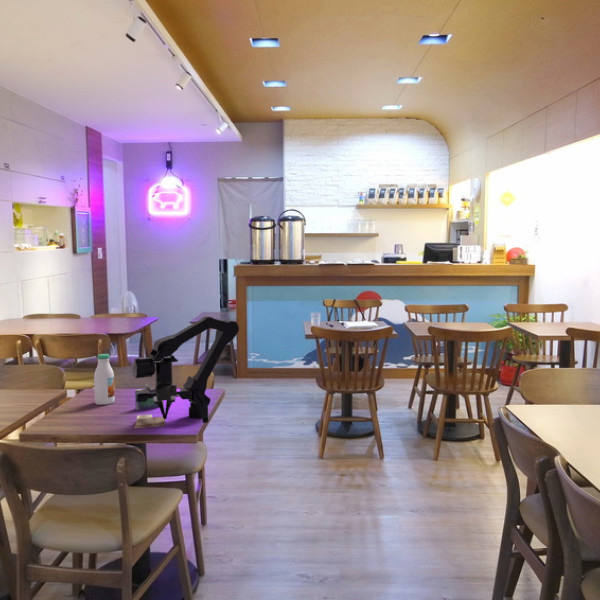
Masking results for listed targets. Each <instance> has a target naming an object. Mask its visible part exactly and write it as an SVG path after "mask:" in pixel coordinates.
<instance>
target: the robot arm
mask: <svg viewBox="0 0 600 600" xmlns="http://www.w3.org/2000/svg"><path fill="white" fill-rule="evenodd" d="M208 329H213V330H216V331H215V337H214V341H213V343H212V344H211V346H210V348H209V349H208V351H207V354H206V355H205V358H204V359H203V361H202V363H201V365H200V366H199V369H198V370H197V372H196V373H195V375H193V376H190V375H189V376H188V377H187V378H186V381H185V383H183V384H182V387H183V388H180V389H179V391H178V389H177V388H178V386H177V385H176V384H175V385H173V383H174V382H173V363H177V362H178V361H179V359H177V358H176V357H175V355H173V354H174V353H175V352H176V351H178V349H179V348H181V346H182V345H184V343H187V342H188V341H190V340H192V339H194V337H196V336H198V335H200V334H201V333H203V332H205V331H207V330H208ZM239 331H240V327H239V324H238V323H237V322H236V321H234V320H229V319H223V320H221V319H216V318H214V317H211V316H209V315H205V316H203V317H202V318H200V319H199V320H197V321H195V322H193V323H192V324H190V325H188V326H187V327H185V328H184V329H183V328H182V330H179V331H178V332H176V333H174V334H170V335H167V336H165V337H161V338H159V339H157V340H155V341H154V343H153V346H152V350H151V351H150V352H149V354H148V355H147V357H141V358H140V357H136V358H134V359H133V360H134V361H133V364H132V376H133V379H143V378H144V379H145V378H150V377H151V378H152V377H153V375H155V393H149V390H143V391H138V392H137V395H136V402H146V401H147V400H148V398H153V399H154V403H157V405H158V406H159V408H158V409H159V410H160V413H161V415H162V417H163V418H164V419H165V420H166V419H167V417H168V414H169V410H170V409H171V406H172V404H173V403H176V398H179V397H180V399H181V400H187V401H188V402H189V405H190V406H189V407H188V418H189V419H190V418H191V419H202V422H203V423H204V422H209V405H210V404H211V403H210V402H211V398H210V397H209V396H207V394H206V391H207V387H208V381H209V378H210V376H211V374H212V372H213V371H214V369H215V366H216V365H217V363H218V361H219V360H220V358H221V356H222V353H223V352H224V350H225V348H226V347H227V345H229V344H230V343H231V342H232V341H233V340H234V339H235V337H236V336H237V335H238V333H239ZM164 401H166V404H164Z"/></svg>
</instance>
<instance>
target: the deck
mask: <svg viewBox="0 0 600 600" xmlns="http://www.w3.org/2000/svg"><path fill="white" fill-rule="evenodd" d="M165 426H166V419H164V418H163V416H155V417H154V416H152V424H146V425H137V419H136V421H135V423H134V429H143V428H158V427H161V428H162V427H165Z"/></svg>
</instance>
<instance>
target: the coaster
mask: <svg viewBox="0 0 600 600" xmlns="http://www.w3.org/2000/svg"><path fill="white" fill-rule="evenodd" d="M152 417H153V414H140V415H139V414H138V415H137V416H136V420H137V425H146V424H152Z"/></svg>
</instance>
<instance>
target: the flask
mask: <svg viewBox="0 0 600 600" xmlns="http://www.w3.org/2000/svg"><path fill="white" fill-rule="evenodd" d="M144 387H145V388H139V389H138V388H137V389H135V390H134V399H135V401H134V406H135V410H136V411H138V410H145V409H147V410H148V409H160V408H159V406H158V405H157V403H154V399H153V398H148V400H147V401H146V402H136V395H137V392H138V391H143V390H149V393H155V388H156V386H150V385H149V383H147V384H145V385H144Z"/></svg>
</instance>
